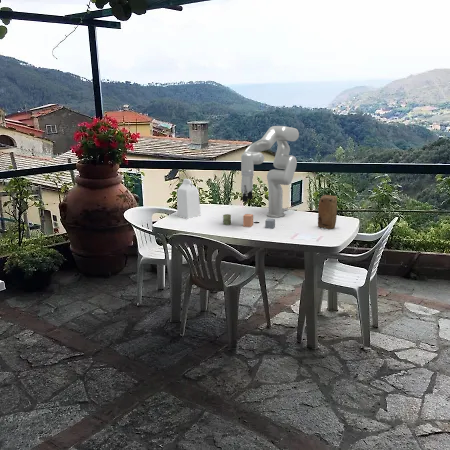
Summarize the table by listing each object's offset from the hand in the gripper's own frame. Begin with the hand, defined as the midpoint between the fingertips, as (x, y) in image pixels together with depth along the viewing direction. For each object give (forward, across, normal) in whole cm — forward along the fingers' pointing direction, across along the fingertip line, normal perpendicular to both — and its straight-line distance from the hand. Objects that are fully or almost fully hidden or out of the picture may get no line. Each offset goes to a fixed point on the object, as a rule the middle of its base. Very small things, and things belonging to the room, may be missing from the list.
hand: (247, 200), depth 283 cm
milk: (+17, -14, -48) cm, 52 cm away
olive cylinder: (+17, -1, -14) cm, 22 cm away
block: (+16, -9, +48) cm, 52 cm away
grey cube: (+16, -1, +15) cm, 22 cm away
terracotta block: (+16, -1, 0) cm, 17 cm away
